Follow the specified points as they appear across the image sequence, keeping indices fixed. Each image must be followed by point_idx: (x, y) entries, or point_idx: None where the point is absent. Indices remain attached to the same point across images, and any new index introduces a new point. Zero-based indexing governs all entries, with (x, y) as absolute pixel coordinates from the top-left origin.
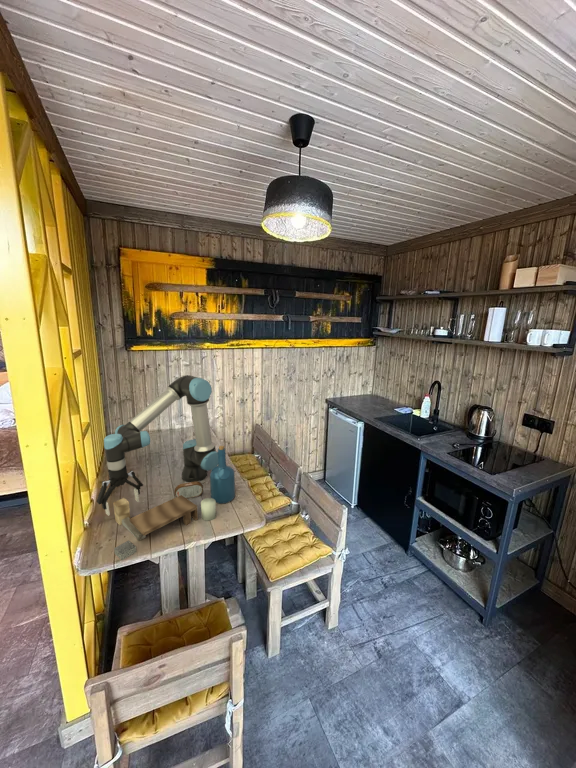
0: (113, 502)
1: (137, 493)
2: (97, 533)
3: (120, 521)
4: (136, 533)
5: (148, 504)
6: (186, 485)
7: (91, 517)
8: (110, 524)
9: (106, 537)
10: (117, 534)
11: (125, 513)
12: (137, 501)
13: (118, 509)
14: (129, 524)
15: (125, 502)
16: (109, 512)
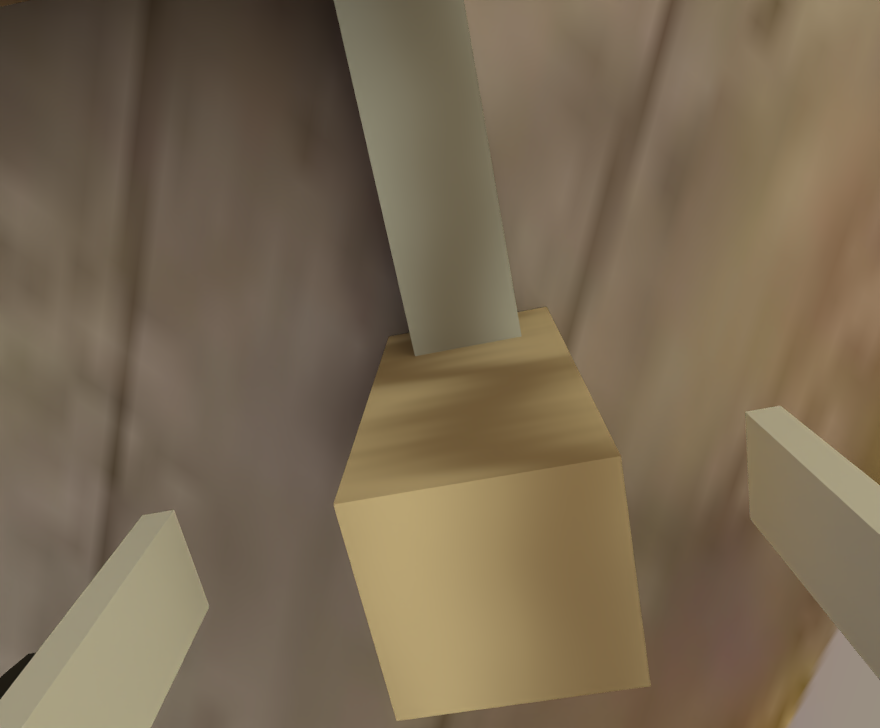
0: (646, 681)
1: (40, 667)
2: (850, 307)
3: (540, 325)
4: None
5: (106, 561)
6: None
7: (783, 691)
8: (645, 411)
9: (789, 119)
10: (638, 89)
11: (449, 377)
12: (170, 527)
13: (593, 416)
14: (444, 105)
15: (409, 524)
16: (774, 438)
